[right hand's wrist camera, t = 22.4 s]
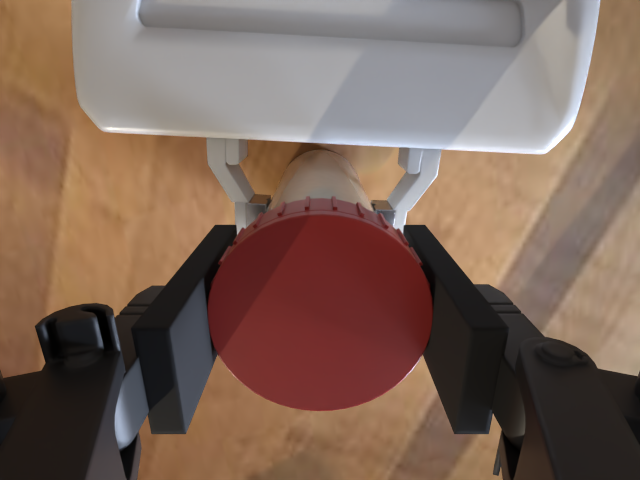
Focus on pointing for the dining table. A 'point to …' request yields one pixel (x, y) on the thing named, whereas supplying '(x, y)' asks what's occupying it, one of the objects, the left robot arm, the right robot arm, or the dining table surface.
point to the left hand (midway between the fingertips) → (320, 237)
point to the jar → (320, 180)
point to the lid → (320, 305)
